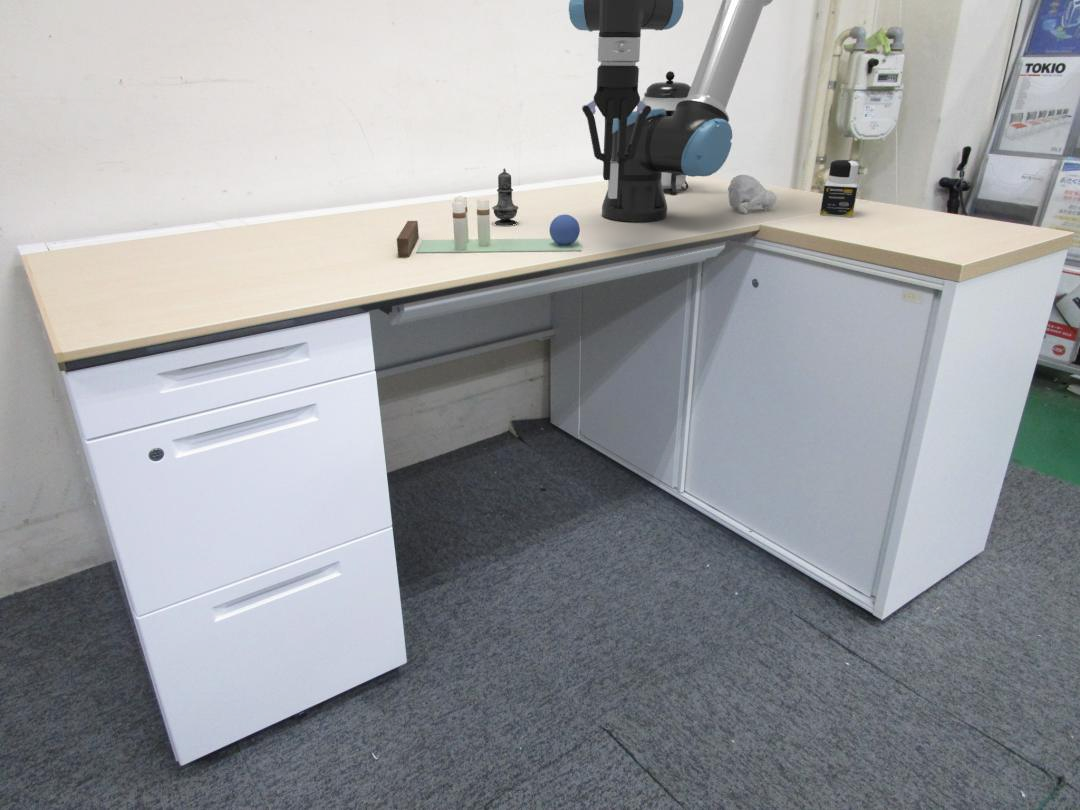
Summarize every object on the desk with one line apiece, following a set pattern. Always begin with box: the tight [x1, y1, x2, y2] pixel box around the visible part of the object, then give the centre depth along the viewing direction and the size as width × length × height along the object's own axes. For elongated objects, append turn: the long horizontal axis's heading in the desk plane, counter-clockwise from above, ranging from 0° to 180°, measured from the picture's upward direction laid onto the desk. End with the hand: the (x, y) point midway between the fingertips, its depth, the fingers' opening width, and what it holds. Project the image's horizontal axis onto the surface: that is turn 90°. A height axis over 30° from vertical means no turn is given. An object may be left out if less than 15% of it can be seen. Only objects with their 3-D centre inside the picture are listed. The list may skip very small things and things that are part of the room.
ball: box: [549, 214, 581, 245], centre depth 148 cm, size 6×6×6 cm
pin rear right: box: [454, 196, 470, 243], centre depth 149 cm, size 2×2×9 cm
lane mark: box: [415, 237, 582, 254], centre depth 149 cm, size 32×10×1 cm, turn 92°
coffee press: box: [640, 70, 691, 196], centre depth 199 cm, size 17×16×30 cm
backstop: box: [396, 220, 420, 258], centre depth 148 cm, size 2×16×4 cm, turn 2°
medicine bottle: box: [819, 159, 860, 218], centre depth 174 cm, size 7×7×12 cm
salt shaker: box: [491, 168, 519, 226], centre depth 165 cm, size 6×6×12 cm
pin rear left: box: [451, 201, 467, 250], centre depth 144 cm, size 2×2×9 cm
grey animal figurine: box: [727, 174, 777, 215], centre depth 178 cm, size 6×8×12 cm
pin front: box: [476, 198, 491, 247], centre depth 147 cm, size 2×2×9 cm
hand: (612, 197), depth 145 cm, fingers closed
